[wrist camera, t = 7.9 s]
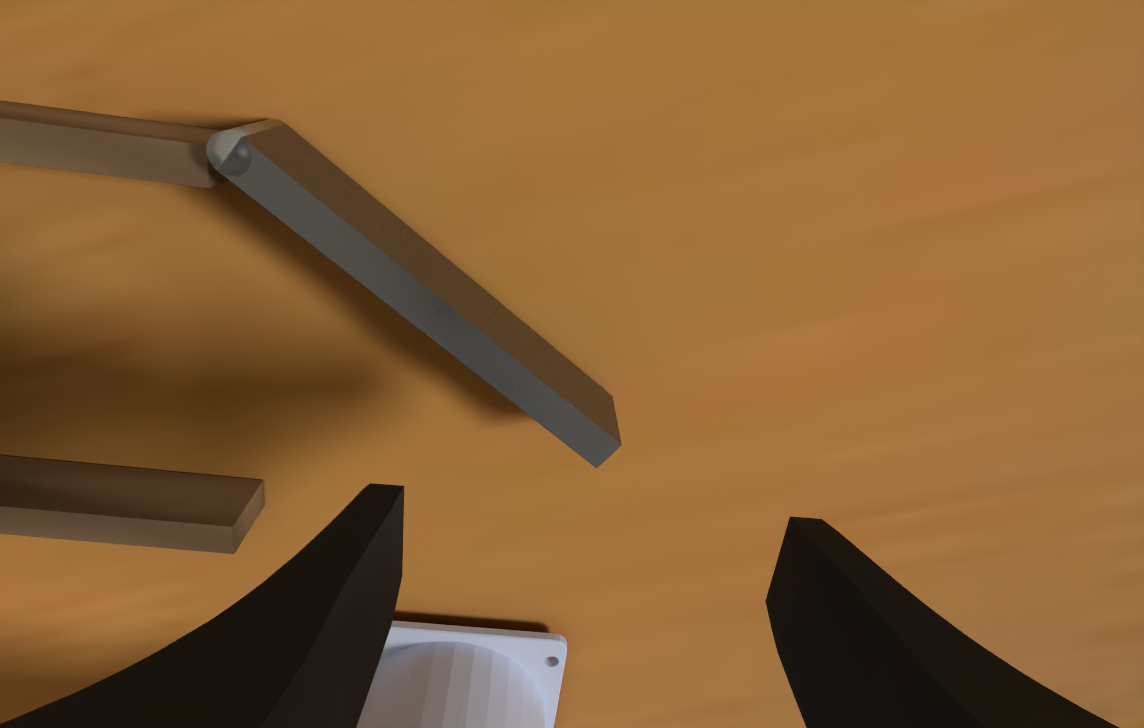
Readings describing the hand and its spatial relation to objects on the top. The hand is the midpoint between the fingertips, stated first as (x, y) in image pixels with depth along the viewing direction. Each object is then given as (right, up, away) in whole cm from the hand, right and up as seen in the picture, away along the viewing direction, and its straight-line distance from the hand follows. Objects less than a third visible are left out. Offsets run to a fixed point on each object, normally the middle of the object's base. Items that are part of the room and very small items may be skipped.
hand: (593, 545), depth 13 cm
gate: (-4, +6, +7) cm, 10 cm away
